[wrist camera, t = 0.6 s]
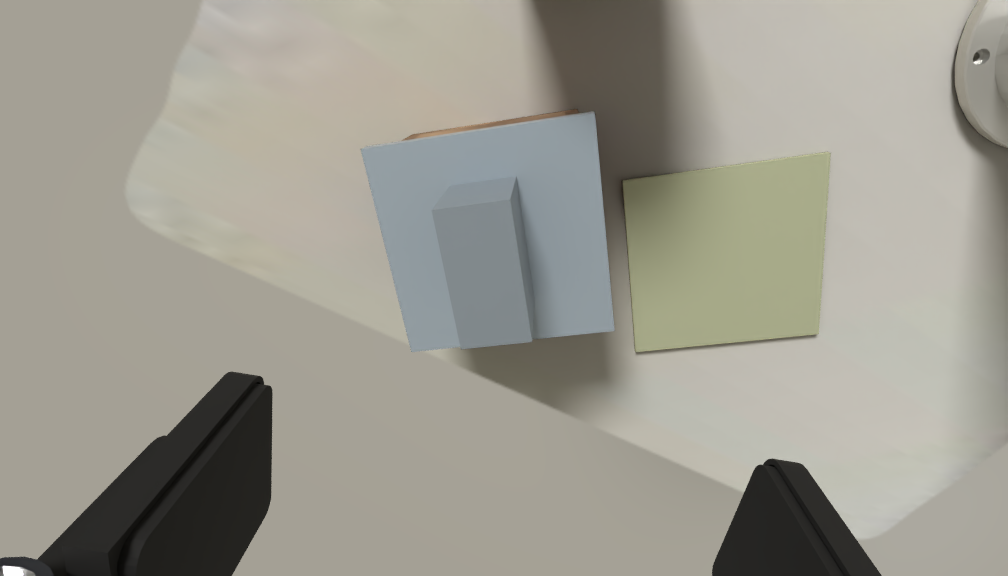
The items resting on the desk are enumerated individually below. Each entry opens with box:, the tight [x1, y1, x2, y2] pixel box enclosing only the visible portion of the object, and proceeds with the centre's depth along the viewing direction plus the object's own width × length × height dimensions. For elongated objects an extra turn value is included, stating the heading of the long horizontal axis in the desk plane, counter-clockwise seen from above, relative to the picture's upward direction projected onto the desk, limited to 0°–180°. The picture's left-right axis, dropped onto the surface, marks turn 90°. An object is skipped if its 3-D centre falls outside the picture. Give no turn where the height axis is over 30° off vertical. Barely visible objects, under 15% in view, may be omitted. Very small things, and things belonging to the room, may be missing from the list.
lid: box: [361, 111, 615, 352], centre depth 28 cm, size 12×12×7 cm
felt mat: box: [622, 152, 831, 352], centre depth 38 cm, size 13×13×1 cm
